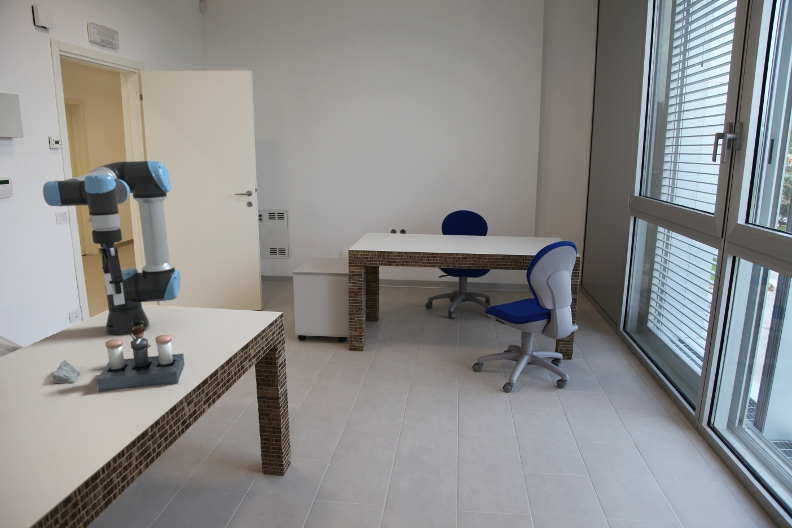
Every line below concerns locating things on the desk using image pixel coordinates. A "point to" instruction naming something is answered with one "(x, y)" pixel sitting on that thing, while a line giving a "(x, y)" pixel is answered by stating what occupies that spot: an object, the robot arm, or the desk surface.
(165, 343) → the knob
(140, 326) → the toy
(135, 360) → the dial
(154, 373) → the mount
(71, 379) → the mineral specimen
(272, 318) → the desk surface
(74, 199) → the robot arm
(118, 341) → the knob
